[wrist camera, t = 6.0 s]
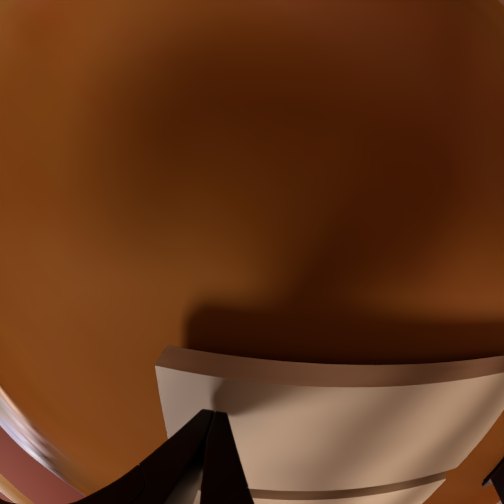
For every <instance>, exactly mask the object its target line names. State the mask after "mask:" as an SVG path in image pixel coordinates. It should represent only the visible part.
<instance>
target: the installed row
mask: <svg viewBox="0 0 504 504" xmlns="http://www.w3.org/2000/svg"><path fill="white" fill-rule="evenodd" d="M446 479H447V478H446V476H445V473H444V472H441V473H437V474H433V475H430V476H426V477H422V478H417V479H413V480H408V481H403V482H398V483H393V484H387V485H380V486H373V487H366V488H357V489H346V490H331V491H275V490H260V489H250V492H251V495H252V498H253V501H254V503H255V504H422V503H423V502H424V501H425V500H426V499H427V498H428V497H429V496H430V495H431V494H432V493H433V492H434V491H435V490H436V489H437V488H438V487H439V486H440V485H441V484H442V483H443V482H444V481H445V480H446ZM201 483H202V482H201ZM200 494H201V484H200V487H199V490H198V492H197V495H196V498H195V500H194V503H193V504H200Z"/></svg>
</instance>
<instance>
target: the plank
mask: <svg viewBox="0 0 504 504" xmlns="http://www.w3.org/2000/svg"><path fill="white" fill-rule="evenodd" d="M155 368H156V375H157V382H158V388H159V394H160V400H161V405H162V411H163V416H164V421H165V426H166V431H167V435H168V439H169V438H170V437H171V436H173V435H174V434H175V433H176V432H177V431H178V430H179V429H181V428H182V427H183V426H184V425H185V424H186V423H187V422H188V421H189V420H191V419H192V418H193V417H194V416H195V415H196V414H197V413H198V412H199V411H200V410H202V409H208V410H213V411H214V412H215V411H221V412H226V413H227V414H228V418H229V421H230V425H231V429H232V432H233V436H234V439H235V443H236V446H237V450H238V453H239V457H240V460H241V464H242V467H243V470H244V473H245V477H246V480H247V483H248V486H249V487H248V488H249V489H260V490H275V491H331V490H346V489H357V488H366V487H373V486H380V485H387V484H393V483H398V482H403V481H408V480H413V479H417V478H422V477H426V476H430V475H433V474H437V473H441V472H444V471H448V470H451V469H454V468H457V467H458V465H459V464H460V463H461V462H462V461H463V460H464V459H465V458H466V457H467V456H468V455H469V453H470V452H471V451H472V450H473V449H474V448H475V447H476V445H477V444H478V443H479V442H480V441H481V439H482V438H483V437H484V436H485V434H486V433H487V432H488V430H489V429H490V428H491V427H492V425H493V424H494V423H495V421H496V420H497V418H498V417H499V416H500V414H501V413H502V411H503V410H504V355H503V356H497V357H490V358H482V359H474V360H464V361H454V362H442V363H427V364H405V365H339V364H316V363H300V362H287V361H276V360H265V359H256V358H247V357H239V356H231V355H224V354H217V353H210V352H204V351H198V350H192V349H186V348H180V347H175V346H170V345H167V346H166V347H165V349H164V351H163V353H162V354H161V356H160V358H159V359H158V361H157V363H156V365H155Z"/></svg>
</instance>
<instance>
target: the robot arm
mask: <svg viewBox="0 0 504 504" xmlns="http://www.w3.org/2000/svg"><path fill="white" fill-rule="evenodd" d="M201 482H202V483H201ZM491 483H493V485H494V487H495V489H496V491H497V493H498V495H499V498H500V500H501V502H502V504H504V460H503V461H502V462H501V463H500V465H499V466H498V467H497V468H496V469H495V470H494V471H493V472H492V473H491V475H490V476H489V477H488V478H487V479H486V480H485V481H484V482H483V483H482V486H483V487H485V486H487V485H489V484H491ZM200 484H201V494H200V504H255V503H254V501H253V498H252V495H251V492H250V489H249V488H248V487H249V486H248V483H247V480H246V477H245V473H244V470H243V467H242V464H241V460H240V457H239V453H238V450H237V446H236V443H235V439H234V436H233V432H232V429H231V425H230V421H229V418H228V414H227V413H226V412H221V411H215V412H214V411H213V410H208V409H202V410H200V411H199V412H198V413H197V414H196V415H195V416H194V417H193V418H192V419H191V420H189V421H188V422H187V423H186V424H185V425H184V426H183V427H182V428H181V429H179V430H178V431H177V432H176V433H175V434H174V435H173V436H171V437H170V438H169V439H168V440H167V441H166V442H164V443H163V444H162V445H161V446H160V447H159V448H157V449H156V450H155V451H154V452H153V453H151V454H150V455H149V456H148V457H147V458H145V459H144V460H143V461H142V462H141V463H139V465H137V466H135V467H134V468H133V469H132V470H130V471H129V472H128V473H126V474H125V475H124V476H122V477H121V478H119V479H118V480H116V481H114V482H113V483H111V484H109V485H108V486H106V487H104V488H102V489H100V490H98V491H97V492H95V493H93V494H91V495H89V496H87V497H85V498H83V499H81V500H79V501H77V502H73V503H70V504H193V503H194V500H195V498H196V495H197V492H198V490H199V487H200ZM0 504H16V503H10V502H7V501H4V500H2V499H0Z"/></svg>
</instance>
